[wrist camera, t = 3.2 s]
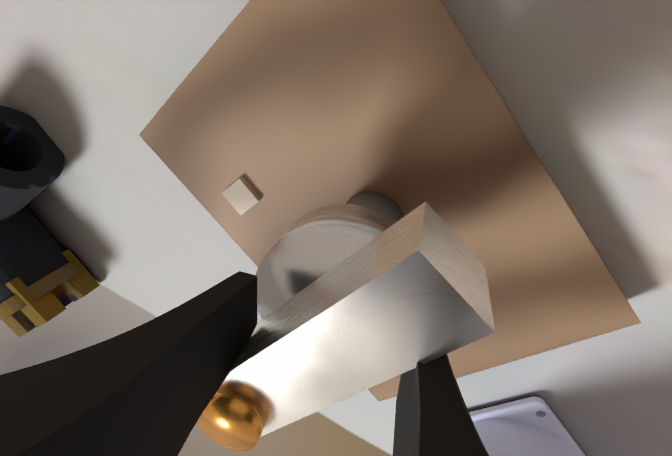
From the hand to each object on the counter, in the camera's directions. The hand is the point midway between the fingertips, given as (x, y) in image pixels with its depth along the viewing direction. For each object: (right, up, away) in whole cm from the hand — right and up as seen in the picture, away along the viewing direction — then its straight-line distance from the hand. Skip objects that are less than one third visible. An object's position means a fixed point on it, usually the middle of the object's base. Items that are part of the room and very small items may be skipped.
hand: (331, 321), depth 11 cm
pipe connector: (-21, +3, +15) cm, 26 cm away
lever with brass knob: (+1, +1, +2) cm, 3 cm away
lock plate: (+2, +4, +7) cm, 8 cm away
